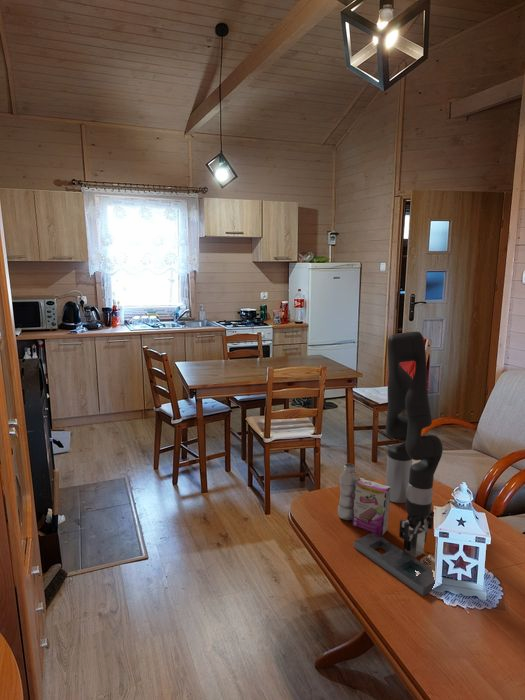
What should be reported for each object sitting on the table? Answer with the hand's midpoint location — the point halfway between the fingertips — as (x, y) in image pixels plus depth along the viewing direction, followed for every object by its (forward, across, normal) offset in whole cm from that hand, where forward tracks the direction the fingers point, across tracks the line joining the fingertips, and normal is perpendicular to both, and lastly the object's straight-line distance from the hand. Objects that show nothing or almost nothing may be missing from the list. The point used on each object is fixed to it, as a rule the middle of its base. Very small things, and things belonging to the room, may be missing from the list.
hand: (414, 545), depth 146 cm
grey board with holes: (+2, +10, +1) cm, 10 cm away
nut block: (+2, 0, 0) cm, 2 cm away
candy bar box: (+3, +2, -17) cm, 17 cm away
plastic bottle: (+2, +4, -26) cm, 26 cm away
